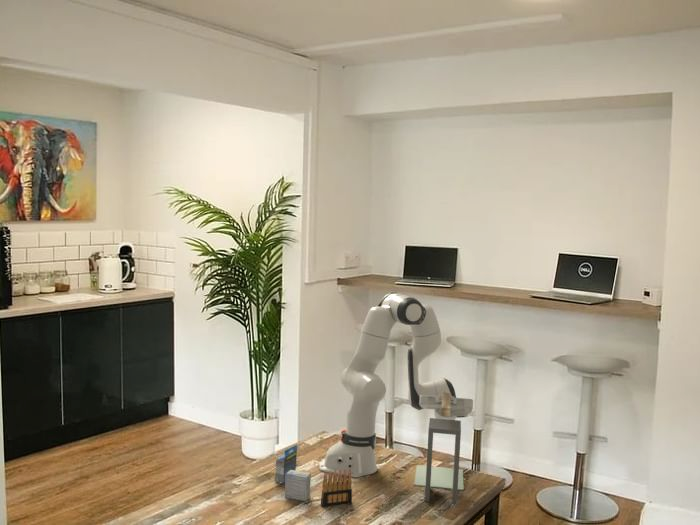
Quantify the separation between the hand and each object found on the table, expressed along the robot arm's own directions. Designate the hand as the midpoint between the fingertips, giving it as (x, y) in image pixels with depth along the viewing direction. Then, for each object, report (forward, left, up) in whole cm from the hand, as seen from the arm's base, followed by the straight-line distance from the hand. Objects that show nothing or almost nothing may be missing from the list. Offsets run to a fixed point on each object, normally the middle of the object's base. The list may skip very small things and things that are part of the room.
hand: (446, 398), depth 253 cm
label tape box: (-57, -12, -32) cm, 67 cm away
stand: (0, -13, -32) cm, 35 cm away
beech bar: (0, -7, -2) cm, 7 cm away
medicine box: (-49, -27, -32) cm, 65 cm away
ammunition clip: (-35, -29, -32) cm, 56 cm away
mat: (-1, +4, -32) cm, 32 cm away
